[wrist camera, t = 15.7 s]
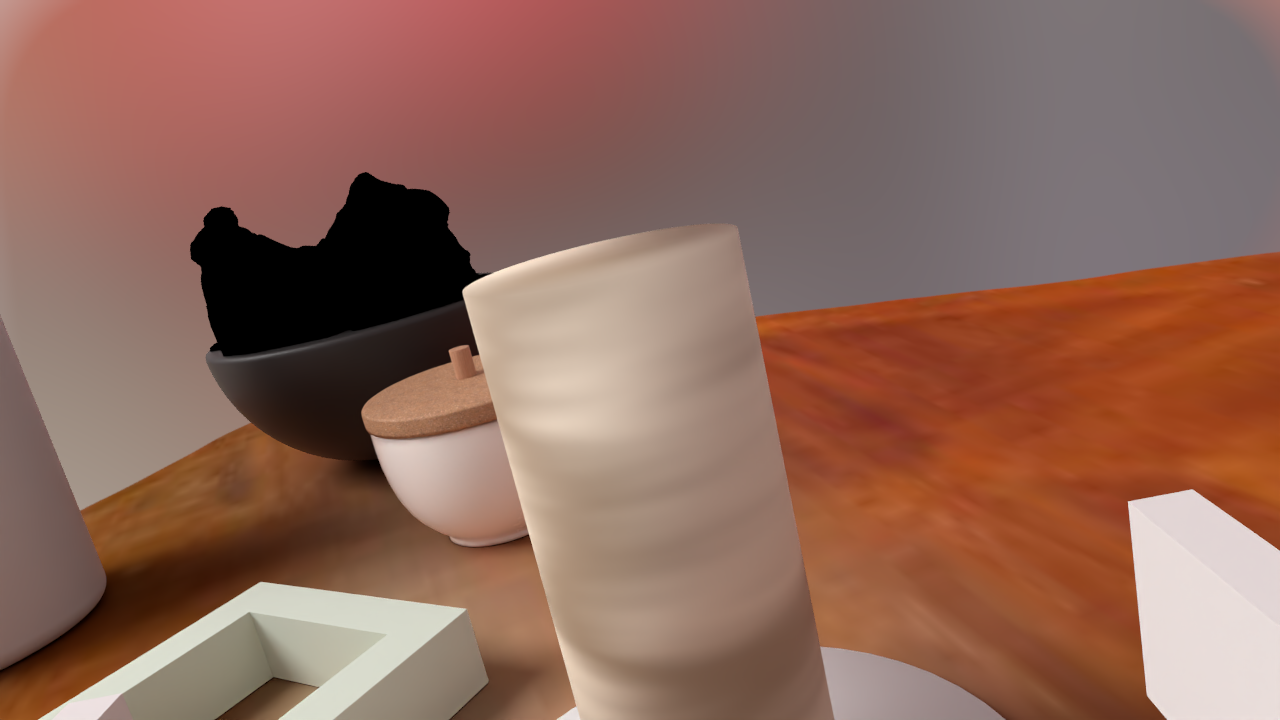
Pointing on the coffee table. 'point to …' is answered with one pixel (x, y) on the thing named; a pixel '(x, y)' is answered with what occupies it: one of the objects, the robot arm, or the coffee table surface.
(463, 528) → the lidded jar
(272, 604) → the hollow square frame
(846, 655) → the white round plate
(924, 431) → the coffee table surface
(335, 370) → the coal bowl
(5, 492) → the cylinder vase
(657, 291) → the ash peg
